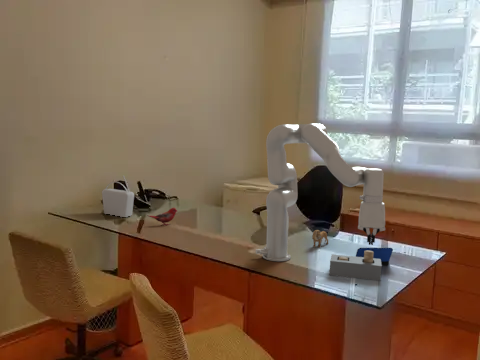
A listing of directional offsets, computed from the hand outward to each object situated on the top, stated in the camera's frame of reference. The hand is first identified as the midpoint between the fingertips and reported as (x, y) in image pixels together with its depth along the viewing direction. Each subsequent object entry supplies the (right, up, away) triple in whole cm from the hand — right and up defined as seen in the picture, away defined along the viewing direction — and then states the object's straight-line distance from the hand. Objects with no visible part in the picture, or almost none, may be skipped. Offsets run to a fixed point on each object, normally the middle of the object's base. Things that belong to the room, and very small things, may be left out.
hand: (370, 244), depth 197 cm
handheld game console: (+5, -12, +19) cm, 23 cm away
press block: (-6, -13, +3) cm, 14 cm away
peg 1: (-10, -12, +4) cm, 17 cm away
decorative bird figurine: (-97, 0, +80) cm, 125 cm away
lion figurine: (-13, -7, +46) cm, 48 cm away
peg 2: (-1, -9, +2) cm, 9 cm away
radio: (-128, +4, +103) cm, 164 cm away
